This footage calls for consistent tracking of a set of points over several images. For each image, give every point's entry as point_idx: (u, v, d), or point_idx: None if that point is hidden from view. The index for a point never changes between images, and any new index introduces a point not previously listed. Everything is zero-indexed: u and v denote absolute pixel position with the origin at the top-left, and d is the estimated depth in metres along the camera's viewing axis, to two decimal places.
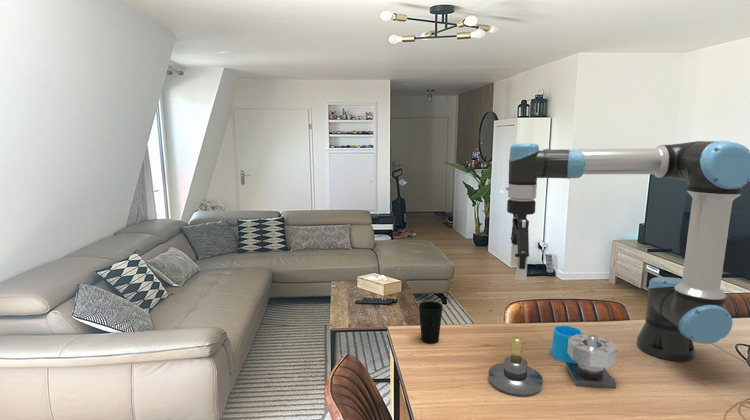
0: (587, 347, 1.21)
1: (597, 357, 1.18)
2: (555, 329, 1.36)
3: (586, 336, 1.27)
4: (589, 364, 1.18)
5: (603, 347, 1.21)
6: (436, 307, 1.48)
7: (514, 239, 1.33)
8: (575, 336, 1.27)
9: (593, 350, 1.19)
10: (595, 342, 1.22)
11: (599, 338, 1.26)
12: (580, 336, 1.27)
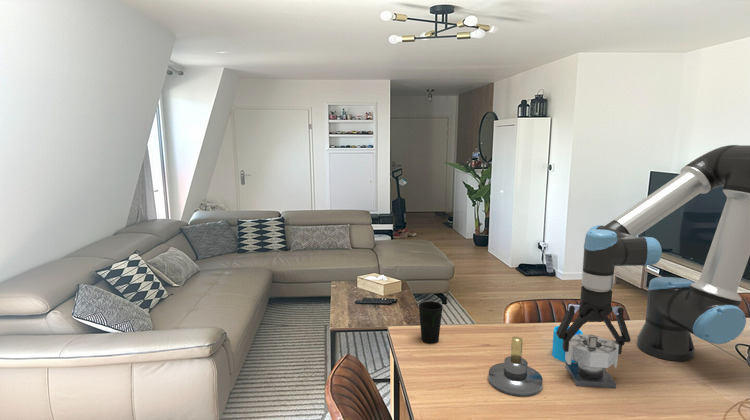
0: (587, 347, 1.21)
1: (597, 357, 1.18)
2: (555, 329, 1.36)
3: (586, 336, 1.27)
4: (589, 364, 1.18)
5: (603, 347, 1.21)
6: (436, 307, 1.48)
7: (612, 334, 1.23)
8: (575, 336, 1.27)
9: (593, 350, 1.19)
10: (595, 342, 1.22)
11: (599, 338, 1.26)
12: (580, 336, 1.27)
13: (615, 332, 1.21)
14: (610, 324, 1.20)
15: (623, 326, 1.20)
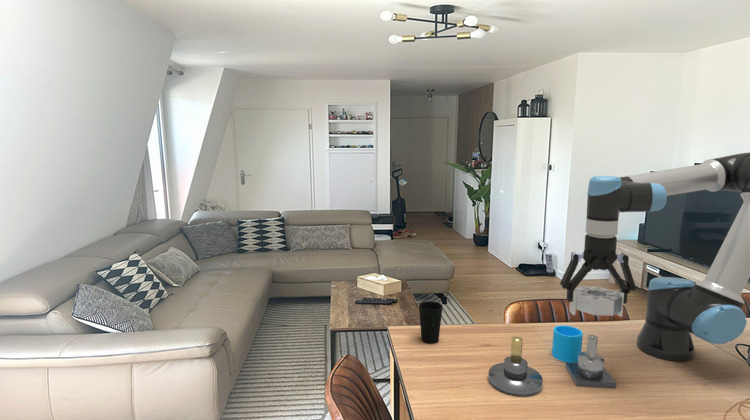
0: (592, 296, 1.18)
1: (602, 305, 1.15)
2: (555, 329, 1.36)
3: (590, 287, 1.25)
4: (594, 312, 1.16)
5: (608, 296, 1.18)
6: (436, 307, 1.48)
7: (617, 283, 1.20)
8: (579, 287, 1.25)
9: (598, 298, 1.17)
10: (595, 342, 1.22)
11: (604, 289, 1.24)
12: (584, 288, 1.25)
13: (620, 280, 1.18)
14: (615, 272, 1.18)
15: (628, 274, 1.18)
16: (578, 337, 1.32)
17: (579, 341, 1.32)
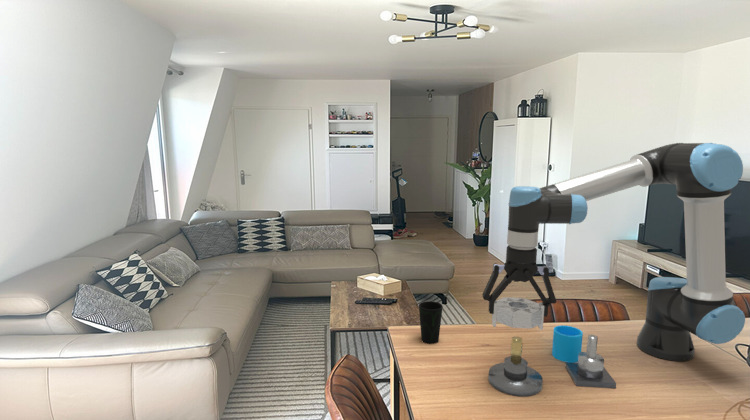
0: (511, 308, 1.16)
1: (520, 317, 1.13)
2: (555, 329, 1.36)
3: (514, 299, 1.23)
4: (512, 325, 1.14)
5: (528, 308, 1.16)
6: (436, 307, 1.48)
7: None
8: (503, 299, 1.23)
9: (516, 310, 1.15)
10: (595, 342, 1.22)
11: (527, 300, 1.22)
12: (508, 299, 1.23)
13: (540, 293, 1.16)
14: (535, 284, 1.16)
15: (548, 286, 1.16)
16: (578, 337, 1.32)
17: (579, 341, 1.32)
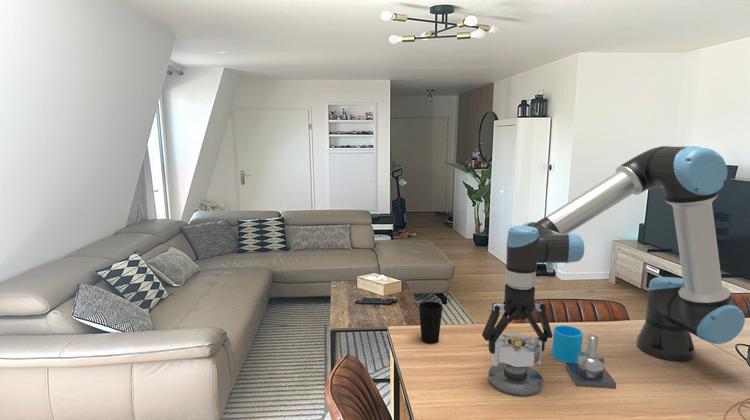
0: (513, 347, 1.18)
1: (523, 356, 1.15)
2: (555, 329, 1.36)
3: (510, 335, 1.25)
4: (516, 364, 1.15)
5: (528, 345, 1.18)
6: (436, 307, 1.48)
7: (535, 331, 1.21)
8: (500, 336, 1.24)
9: (519, 349, 1.16)
10: (595, 342, 1.22)
11: (522, 336, 1.24)
12: (504, 336, 1.24)
13: (538, 329, 1.19)
14: (533, 321, 1.19)
15: (545, 322, 1.19)
16: (578, 337, 1.32)
17: (579, 341, 1.32)
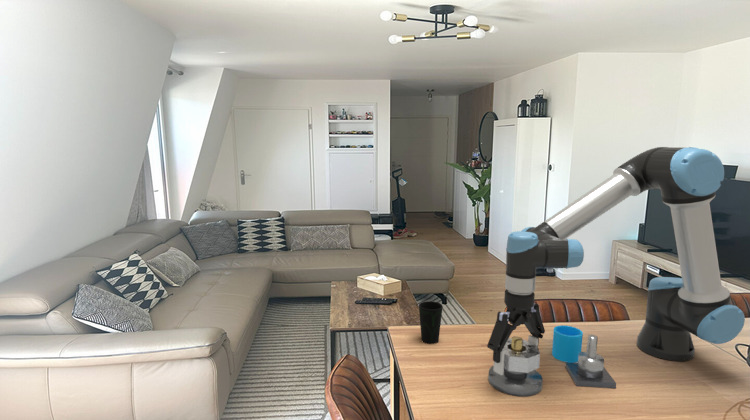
0: (519, 353, 1.17)
1: (532, 361, 1.16)
2: (555, 329, 1.36)
3: None
4: (527, 370, 1.15)
5: (528, 348, 1.20)
6: (436, 307, 1.48)
7: (529, 330, 1.24)
8: None
9: (526, 354, 1.17)
10: (595, 342, 1.22)
11: None
12: None
13: (535, 328, 1.22)
14: (531, 322, 1.21)
15: (539, 320, 1.23)
16: (578, 337, 1.32)
17: (579, 341, 1.32)
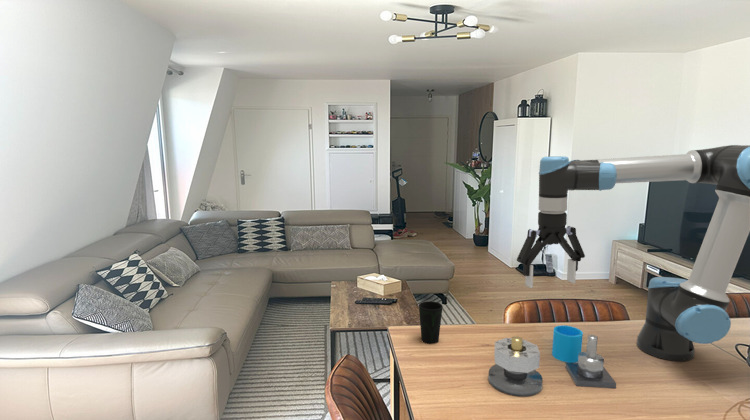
0: (519, 353, 1.17)
1: (532, 361, 1.16)
2: (555, 329, 1.36)
3: (503, 341, 1.24)
4: (527, 370, 1.15)
5: (528, 348, 1.20)
6: (436, 307, 1.48)
7: (568, 253, 1.30)
8: (497, 344, 1.22)
9: (526, 354, 1.17)
10: (595, 342, 1.22)
11: None
12: (500, 343, 1.23)
13: (572, 250, 1.28)
14: (567, 244, 1.27)
15: (577, 243, 1.28)
16: (578, 337, 1.32)
17: (579, 341, 1.32)
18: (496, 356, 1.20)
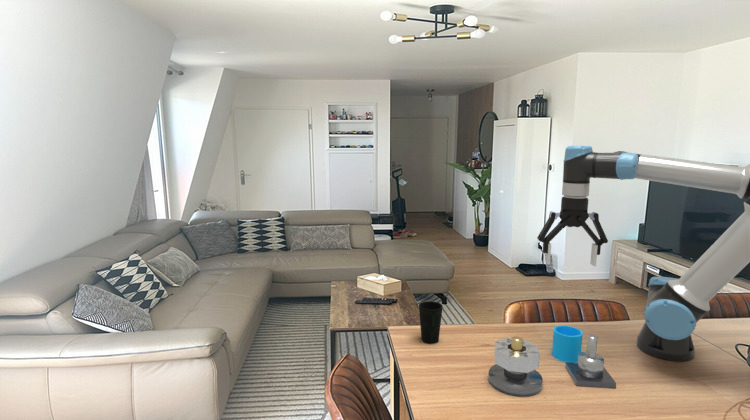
0: (519, 353, 1.17)
1: (532, 361, 1.16)
2: (555, 329, 1.36)
3: (503, 341, 1.24)
4: (527, 370, 1.15)
5: (528, 348, 1.20)
6: (436, 307, 1.48)
7: None
8: (497, 344, 1.22)
9: (526, 354, 1.17)
10: (595, 342, 1.22)
11: None
12: (500, 343, 1.23)
13: (593, 235, 1.37)
14: (588, 228, 1.36)
15: (600, 229, 1.36)
16: (578, 337, 1.32)
17: (579, 341, 1.32)
18: (496, 356, 1.20)
